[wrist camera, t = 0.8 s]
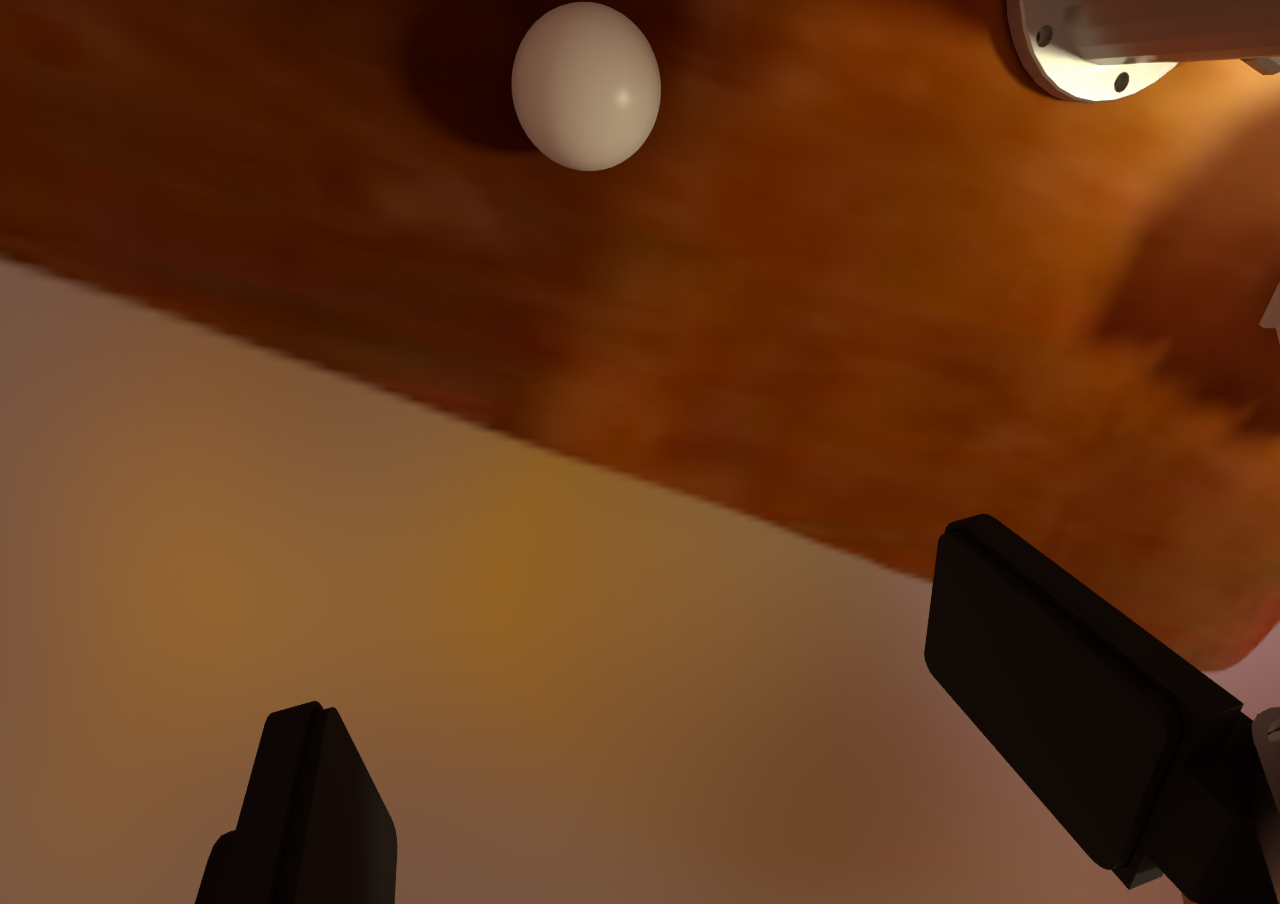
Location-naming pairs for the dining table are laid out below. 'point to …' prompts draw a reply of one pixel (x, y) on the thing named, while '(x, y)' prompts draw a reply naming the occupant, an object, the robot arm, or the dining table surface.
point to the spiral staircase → (1273, 313)
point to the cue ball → (586, 86)
